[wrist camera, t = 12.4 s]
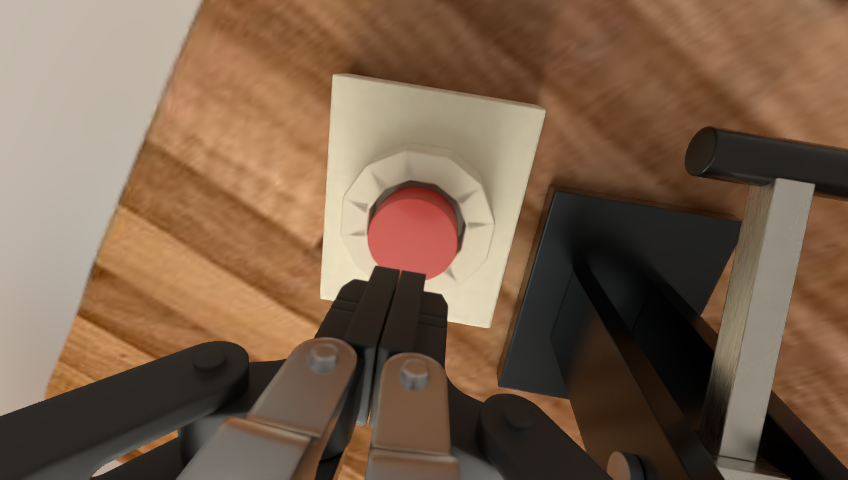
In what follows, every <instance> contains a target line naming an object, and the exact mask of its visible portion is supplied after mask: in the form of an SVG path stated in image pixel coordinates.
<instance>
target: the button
mask: <svg viewBox="0 0 848 480" xmlns="http://www.w3.org/2000/svg"><path fill="white" fill-rule="evenodd" d="M367 239H368V246H369V250H370V253H371V255H372V257H373V259H374V260H375V262H376V263H377V265H378V266H382V267H388V268H394V269H400V275H401V271H402V270H406V271H411V272H417V273H423V274H426V280H429V279H432V278H434V277H436V276H438V275H440V274H441V273H442V272H444V271H445V270H446V269H447V268H448V267H449V266H450V264H451V263H452V261H453V260H454V257H455V255H456V252H457V247H458V219H457V215H456V213H455V210H454V208H453V207H452V205H451V204H450V202H449V201H448V200H447V199H446V198H445V197H444V196H443V195H441V194H440V193H438V192H436V191H434V190H432V189H429V188H426V187H420V186H410V187H405V188H401V189H399V190H396V191H395V192H393V193H391V194H390V195H389V196H388V197H387V198H386V199H385V200H384V201H383V202H382V204H381V205H380V207H379V208H378V210H377V212H376V214H375V215H374V217H373V219H372V221H371V223H370V226H369V229H368V238H367ZM399 278H400V277H399Z"/></svg>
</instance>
